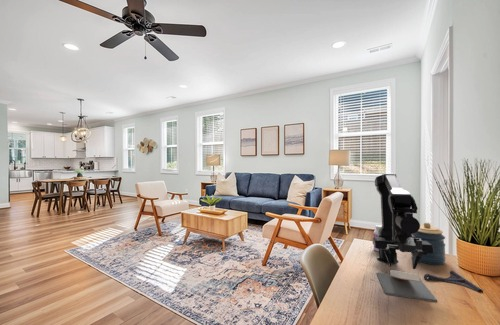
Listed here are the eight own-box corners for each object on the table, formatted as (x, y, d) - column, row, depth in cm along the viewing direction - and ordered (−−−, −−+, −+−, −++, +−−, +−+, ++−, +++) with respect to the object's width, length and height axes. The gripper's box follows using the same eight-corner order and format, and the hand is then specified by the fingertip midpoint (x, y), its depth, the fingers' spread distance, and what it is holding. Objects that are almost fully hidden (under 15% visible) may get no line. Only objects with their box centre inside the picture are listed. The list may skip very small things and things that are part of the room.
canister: (428, 266, 102) (427, 226, 102) (404, 255, 115) (403, 220, 115) (453, 264, 104) (452, 225, 104) (427, 253, 117) (426, 218, 117)
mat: (376, 273, 96) (376, 272, 96) (419, 279, 91) (418, 277, 91) (385, 294, 81) (385, 292, 81) (437, 301, 76) (437, 300, 76)
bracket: (414, 272, 98) (414, 266, 98) (454, 274, 95) (454, 268, 95) (436, 291, 84) (435, 283, 84) (483, 294, 81) (483, 286, 81)
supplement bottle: (370, 249, 124) (370, 225, 124) (379, 247, 126) (379, 223, 126) (382, 253, 117) (381, 228, 118) (391, 251, 120) (390, 226, 120)
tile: (389, 269, 93) (399, 271, 82) (407, 272, 91) (419, 274, 80) (390, 276, 92) (400, 278, 81) (407, 278, 90) (419, 282, 79)
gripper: (377, 229, 82) (378, 273, 82) (441, 234, 76) (442, 281, 76) (372, 222, 93) (372, 261, 93) (427, 225, 87) (428, 267, 87)
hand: (402, 267), depth 87 cm, fingers open, 7 cm apart
